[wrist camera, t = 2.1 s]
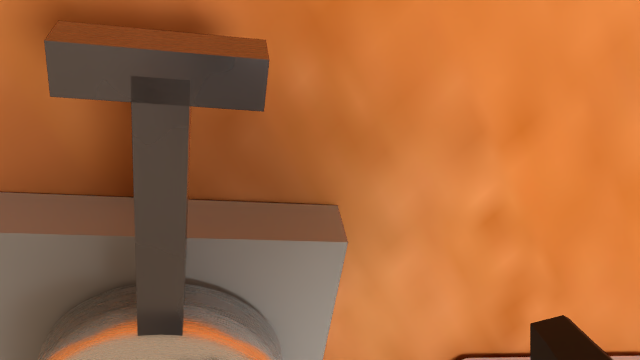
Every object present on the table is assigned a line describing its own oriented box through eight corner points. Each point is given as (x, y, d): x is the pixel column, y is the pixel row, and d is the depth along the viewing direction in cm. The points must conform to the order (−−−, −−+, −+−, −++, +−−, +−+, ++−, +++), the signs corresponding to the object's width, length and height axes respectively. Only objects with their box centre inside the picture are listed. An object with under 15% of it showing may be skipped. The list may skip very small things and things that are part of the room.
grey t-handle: (270, 437, 23) (280, 562, 19) (51, 445, 21) (15, 583, 18) (336, 34, 14) (377, 117, 11) (-20, -1, 13) (-118, 83, 9)
